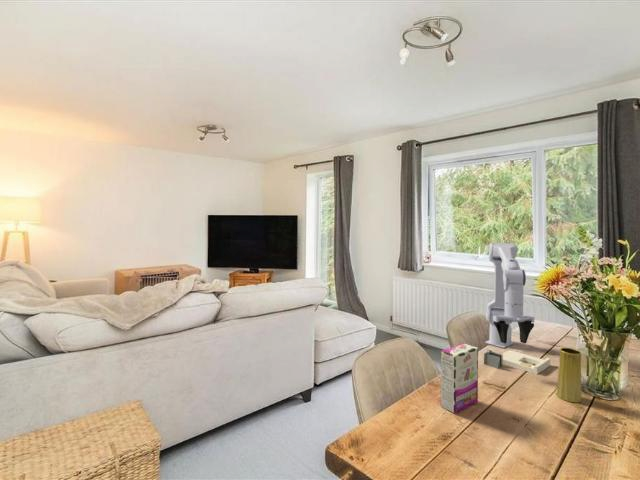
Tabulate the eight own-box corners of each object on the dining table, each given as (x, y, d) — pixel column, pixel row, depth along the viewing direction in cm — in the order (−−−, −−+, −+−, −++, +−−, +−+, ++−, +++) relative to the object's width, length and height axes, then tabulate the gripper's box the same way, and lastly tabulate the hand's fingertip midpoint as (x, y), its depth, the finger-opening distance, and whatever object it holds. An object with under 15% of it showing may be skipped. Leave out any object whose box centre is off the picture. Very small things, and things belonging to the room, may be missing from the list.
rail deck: (509, 353, 136) (509, 347, 136) (549, 365, 125) (550, 358, 125) (495, 361, 129) (495, 354, 128) (537, 374, 118) (537, 367, 117)
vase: (572, 392, 105) (574, 347, 104) (586, 403, 99) (588, 355, 98) (551, 391, 105) (553, 346, 105) (564, 402, 99) (565, 354, 98)
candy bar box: (462, 395, 103) (463, 342, 102) (478, 403, 99) (479, 347, 98) (439, 406, 97) (440, 350, 96) (454, 414, 92) (455, 355, 92)
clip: (489, 361, 128) (489, 348, 128) (502, 365, 125) (503, 352, 124) (483, 364, 126) (484, 351, 126) (497, 368, 122) (498, 355, 122)
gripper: (502, 304, 115) (502, 345, 114) (541, 305, 117) (541, 345, 116) (489, 302, 122) (488, 340, 121) (526, 302, 124) (525, 340, 123)
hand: (513, 342), depth 119 cm, fingers open, 7 cm apart
